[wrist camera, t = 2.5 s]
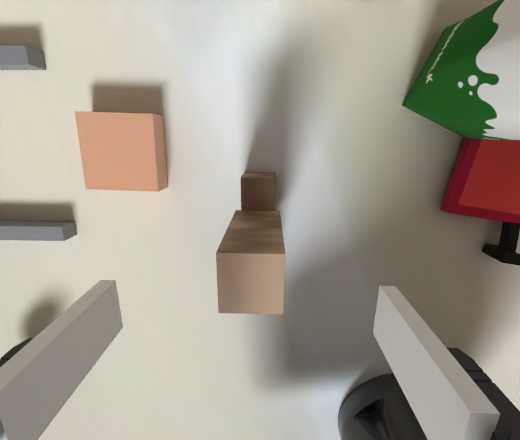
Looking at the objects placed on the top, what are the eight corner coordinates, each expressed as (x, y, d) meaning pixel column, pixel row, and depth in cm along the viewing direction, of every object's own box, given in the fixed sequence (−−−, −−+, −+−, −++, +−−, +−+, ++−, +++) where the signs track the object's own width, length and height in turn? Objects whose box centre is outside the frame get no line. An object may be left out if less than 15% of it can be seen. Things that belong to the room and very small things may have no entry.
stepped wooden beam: (279, 172, 29) (286, 203, 16) (277, 262, 32) (282, 354, 18) (239, 172, 29) (214, 202, 16) (241, 262, 32) (220, 352, 19)
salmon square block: (164, 115, 28) (152, 113, 25) (168, 186, 30) (158, 191, 27) (94, 114, 28) (74, 111, 25) (103, 184, 30) (86, 189, 27)
